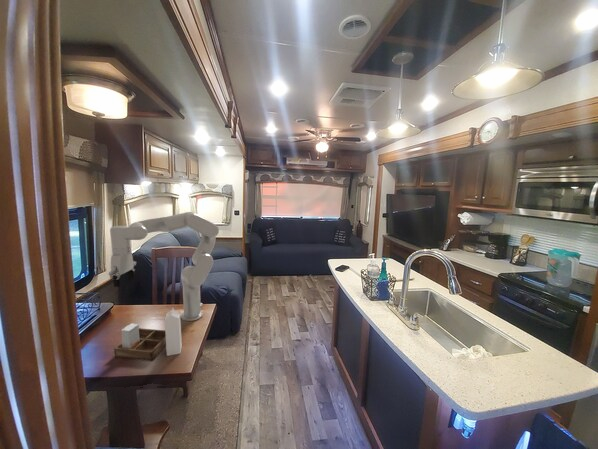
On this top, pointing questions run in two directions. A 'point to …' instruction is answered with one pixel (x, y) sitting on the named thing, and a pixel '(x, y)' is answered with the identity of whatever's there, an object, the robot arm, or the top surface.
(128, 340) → the skincare box
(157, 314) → the top surface
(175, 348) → the milk
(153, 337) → the walnut caddy
